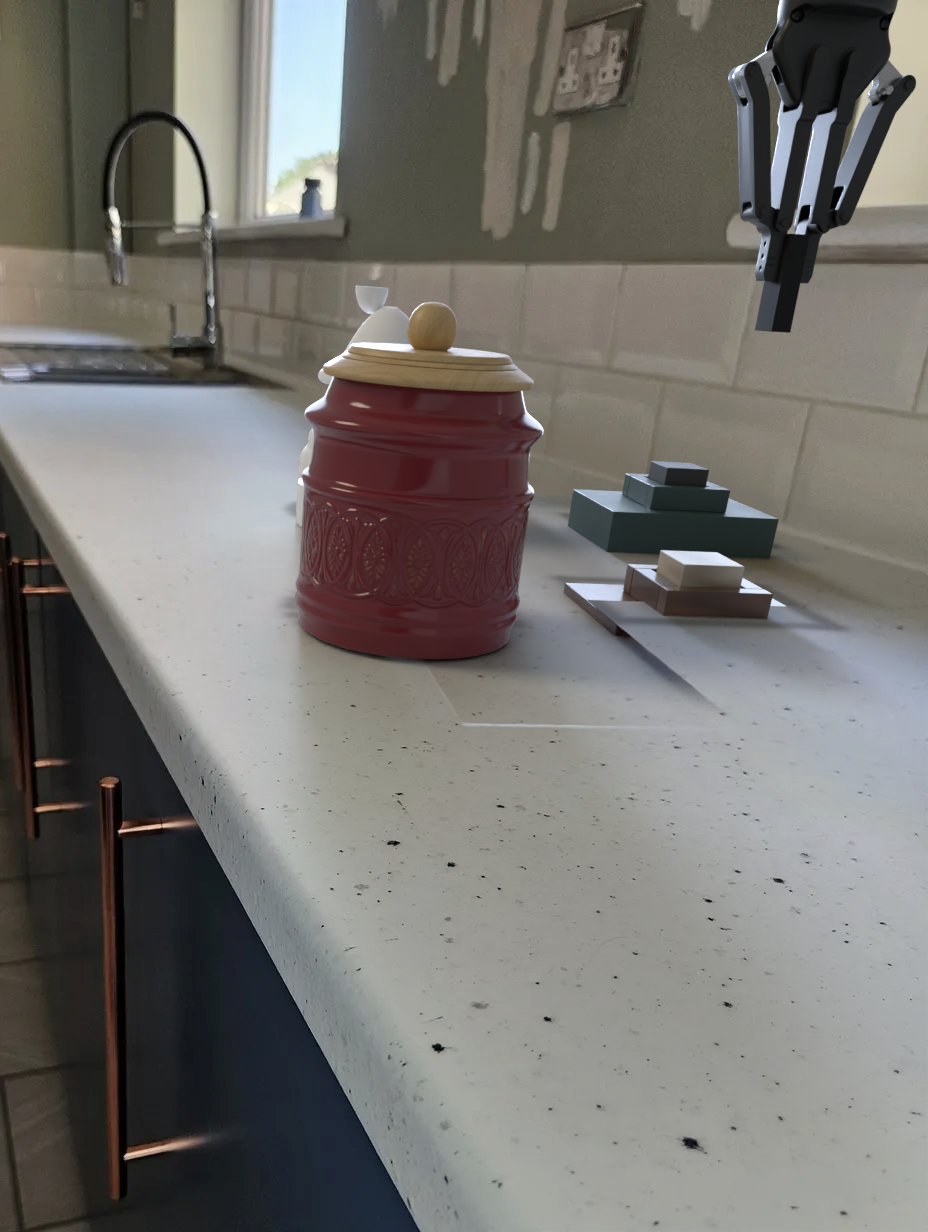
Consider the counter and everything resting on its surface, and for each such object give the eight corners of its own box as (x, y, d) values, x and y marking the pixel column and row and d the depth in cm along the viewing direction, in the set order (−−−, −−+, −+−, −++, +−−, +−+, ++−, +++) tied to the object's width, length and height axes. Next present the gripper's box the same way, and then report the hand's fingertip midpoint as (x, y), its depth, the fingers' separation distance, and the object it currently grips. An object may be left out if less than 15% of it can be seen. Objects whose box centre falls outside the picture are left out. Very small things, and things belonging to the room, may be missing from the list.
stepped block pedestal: (754, 599, 79) (762, 563, 78) (829, 642, 70) (839, 602, 69) (563, 592, 77) (568, 556, 76) (614, 635, 68) (621, 595, 67)
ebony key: (687, 484, 95) (691, 462, 95) (705, 491, 92) (709, 469, 91) (646, 482, 95) (650, 460, 94) (663, 489, 92) (667, 467, 91)
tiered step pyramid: (717, 532, 101) (729, 475, 99) (770, 558, 92) (784, 496, 90) (567, 526, 99) (576, 467, 97) (606, 552, 90) (617, 488, 88)
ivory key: (712, 578, 75) (717, 552, 74) (739, 594, 71) (745, 566, 70) (655, 576, 74) (660, 549, 73) (679, 592, 70) (685, 564, 70)
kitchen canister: (494, 678, 59) (543, 312, 51) (261, 642, 62) (276, 292, 54) (528, 617, 70) (572, 310, 63) (330, 589, 73) (349, 293, 66)
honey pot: (263, 520, 92) (273, 279, 85) (361, 505, 102) (378, 286, 94) (386, 550, 85) (408, 290, 78) (480, 531, 94) (508, 296, 87)
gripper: (905, -29, 79) (827, 333, 89) (730, -47, 77) (670, 325, 87) (973, -58, 72) (880, 338, 82) (783, -78, 71) (711, 328, 80)
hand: (772, 331), depth 85 cm, fingers closed
